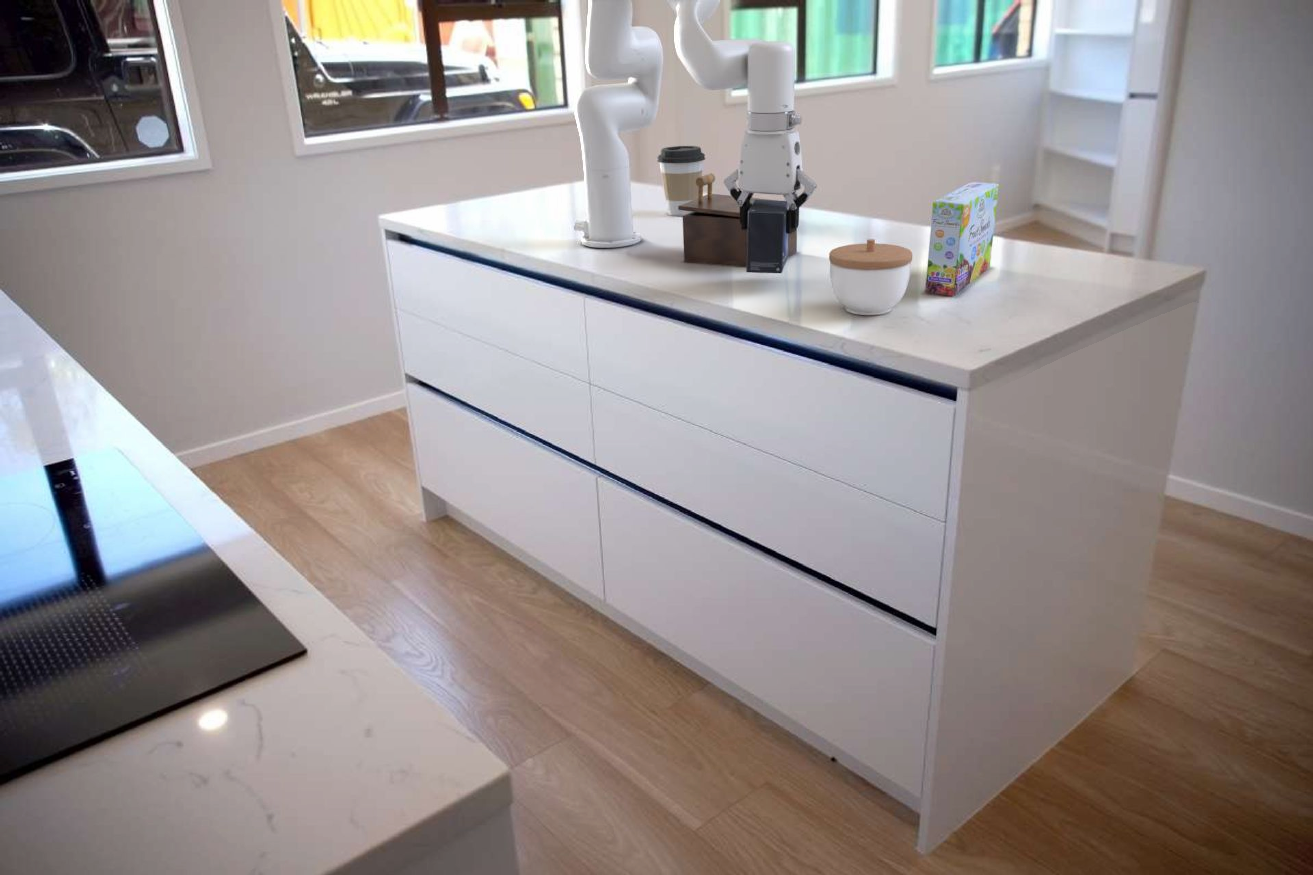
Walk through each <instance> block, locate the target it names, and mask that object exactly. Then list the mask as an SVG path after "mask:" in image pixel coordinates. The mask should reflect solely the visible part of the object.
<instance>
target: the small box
mask: <svg viewBox="0 0 1313 875" xmlns="http://www.w3.org/2000/svg"><path fill="white" fill-rule="evenodd" d="M788 209H789V206H788V204H787V202H786V200H778V201H776V199H768V200H755V201H754V203H753V204H752V206H751V207H750V209H749V211H748V224H747V227H748V228H747V266H746V267H745V268H746V269H745V272H746V273H747V274H748V273H753V274H754V273H757V274H782V273H783V272H784V269H785V266H786V263H787V260H788V258H787V256H788V237H789V234H787V233H786V211H787V210H788Z"/></svg>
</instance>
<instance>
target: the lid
mask: <svg viewBox="0 0 1313 875" xmlns="http://www.w3.org/2000/svg"><path fill="white" fill-rule="evenodd" d="M715 181H716V176H715V174H714V173H711V172H710V173H707V174H703V175H702V176H701V177H698V178H697V179H696V185H697V186H698V198H697V199H695V200H692V201H690V202H687V203H684V204H682V205H679V206H678V210H683V211H692V212H700V213H709V214H718V215H727V216H735V217H740V206H738V205H737V201H736V200H735V199H734V198H733V197H732V196H731V194H719V193H713V183H715ZM704 186H707V194H706V195H704ZM755 200H769V199H768V198H767V199H766V198H757V197H752V198H751V199H750V203H752V204H753V203H754V201H755ZM775 200H776V199H775ZM776 201H779V200H776Z"/></svg>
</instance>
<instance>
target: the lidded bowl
mask: <svg viewBox="0 0 1313 875" xmlns="http://www.w3.org/2000/svg"><path fill="white" fill-rule="evenodd" d="M828 254H829V256H828V260H829V278H830V284H831V289H832V292H833V295H834V296H835V298H836V299H837V301H838V302H839V303H840V304H841V305H842V306H843V307H845V311H846V312H847V313H850V314H852V315H857V316H858V315H860V316H880V315H885V314H888V313H890V312H892V310H893V309H892V308H894V307H895V306H896V305H897V304H898V303H899V302H900V301H901V300H902V298H903V297H904V295H905V293H906V291H907V288H908V285H909V282H910V276H911V270H912V268H911V267H912V260H913V252H912V251H911V250H910V249H909V248H907V247H904V246H900V245H896V244H888V243H876V239H875V238H867V239H866V243H853V244H847V245H841V246H838V247H835V248H833V249H831V250H830V251H829V253H828Z"/></svg>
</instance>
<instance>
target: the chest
mask: <svg viewBox="0 0 1313 875" xmlns="http://www.w3.org/2000/svg"><path fill="white" fill-rule="evenodd" d="M682 238H683V241H682V242H683V262H685V263H692V264H693V263H694V264H705V265H718V266H729V267H743V268H746V266H747V229H746V230H742V229H741V223H740V217H735V216H727V215H718V214H709V213H700V212H690V213H688V214H686V215H683V216H682ZM797 251H798V228H797V229H796V231H795V232H793V233H791V234H789V237H788V256H787V259H788V258H790V257H791V256H793V255H795V254H796V253H798V252H797Z"/></svg>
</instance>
